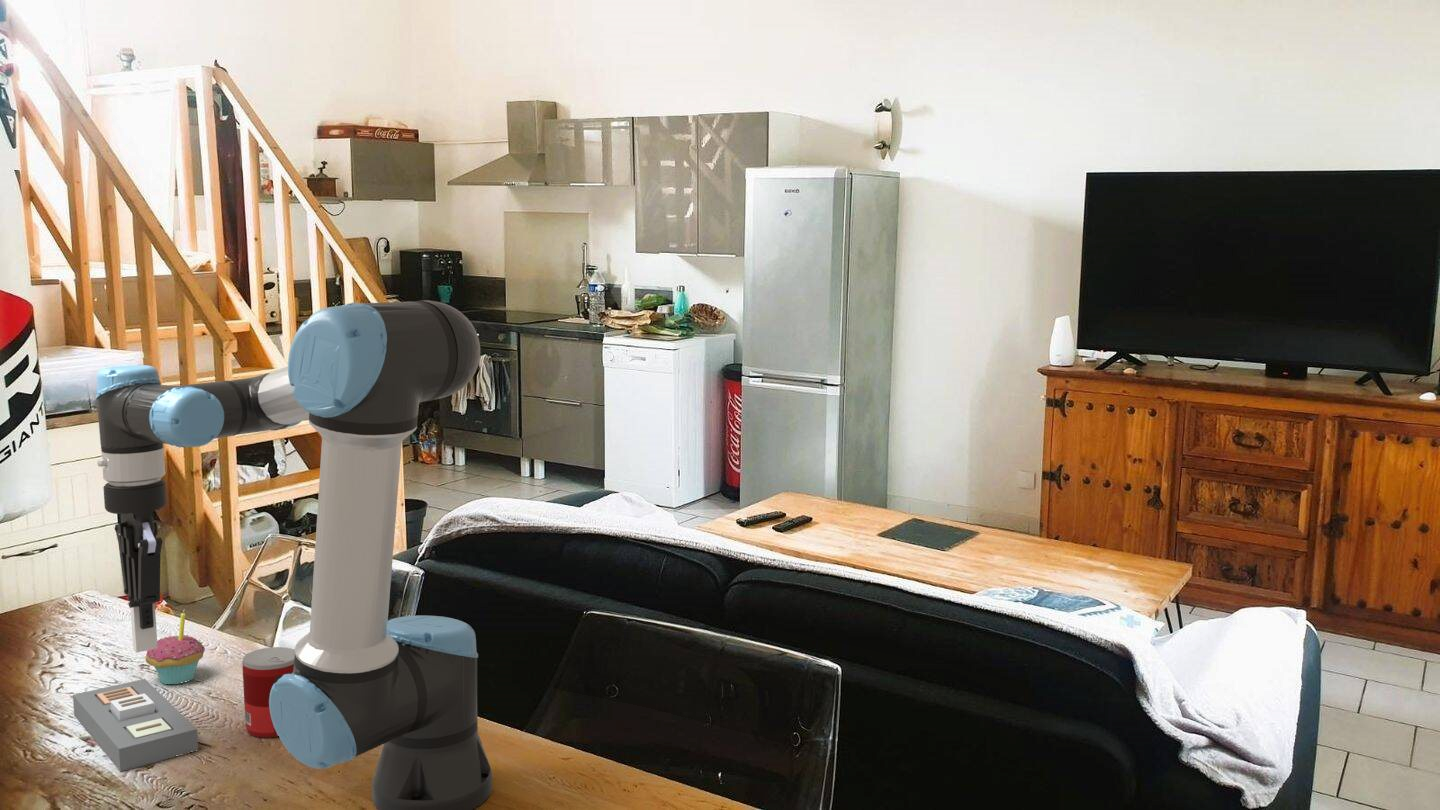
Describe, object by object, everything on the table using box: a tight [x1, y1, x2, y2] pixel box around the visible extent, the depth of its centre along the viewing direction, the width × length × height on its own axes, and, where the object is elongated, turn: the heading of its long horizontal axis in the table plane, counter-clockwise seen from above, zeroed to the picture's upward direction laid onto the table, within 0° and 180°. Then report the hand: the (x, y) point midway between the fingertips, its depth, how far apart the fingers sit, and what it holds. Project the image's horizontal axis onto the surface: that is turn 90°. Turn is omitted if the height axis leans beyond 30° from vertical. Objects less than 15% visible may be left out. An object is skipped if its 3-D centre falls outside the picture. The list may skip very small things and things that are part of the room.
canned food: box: [242, 646, 295, 739], centre depth 171 cm, size 8×8×11 cm
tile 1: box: [126, 718, 172, 739], centre depth 163 cm, size 5×5×2 cm
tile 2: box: [110, 693, 155, 722], centre depth 169 cm, size 5×5×2 cm
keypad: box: [72, 678, 199, 773], centre depth 169 cm, size 24×10×3 cm, turn 42°
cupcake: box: [145, 608, 206, 685], centre depth 188 cm, size 9×8×12 cm
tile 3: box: [97, 687, 138, 705], centre depth 174 cm, size 5×5×2 cm
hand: (145, 648), depth 161 cm, fingers closed
